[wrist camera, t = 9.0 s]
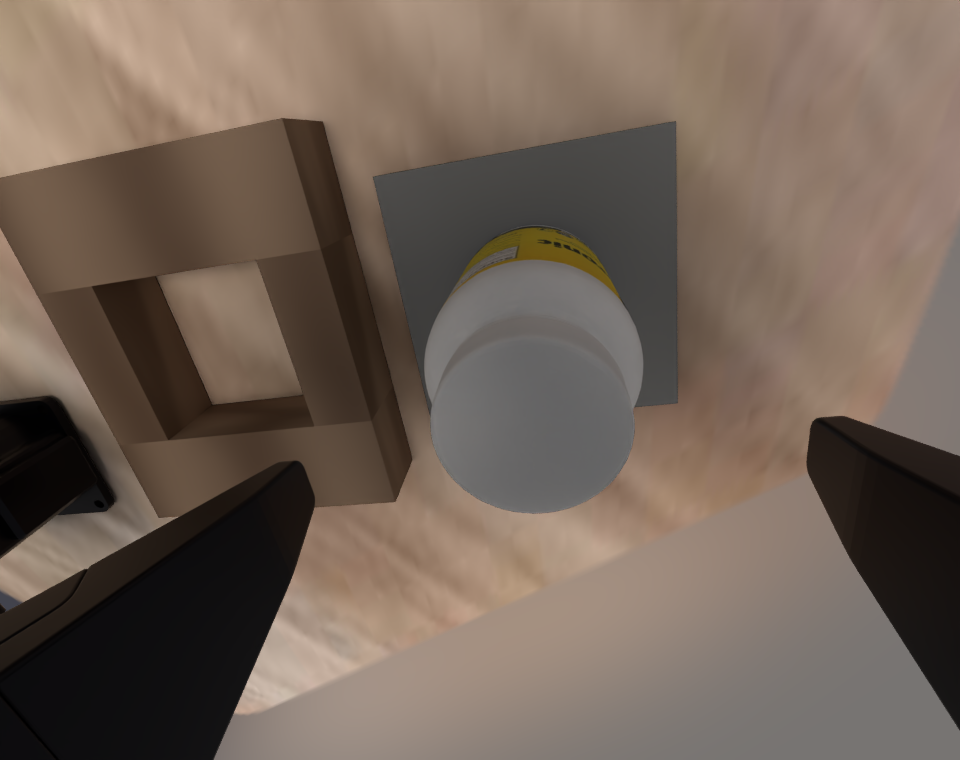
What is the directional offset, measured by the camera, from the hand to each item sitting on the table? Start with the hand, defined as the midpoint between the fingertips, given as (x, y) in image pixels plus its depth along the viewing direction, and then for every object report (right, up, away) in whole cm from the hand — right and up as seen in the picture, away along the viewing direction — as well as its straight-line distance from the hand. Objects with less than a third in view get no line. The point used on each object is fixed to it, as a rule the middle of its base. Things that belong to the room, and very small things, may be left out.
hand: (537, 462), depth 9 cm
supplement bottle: (+1, +5, +10) cm, 11 cm away
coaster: (+1, +5, +10) cm, 11 cm away
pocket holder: (-11, +4, +12) cm, 17 cm away
